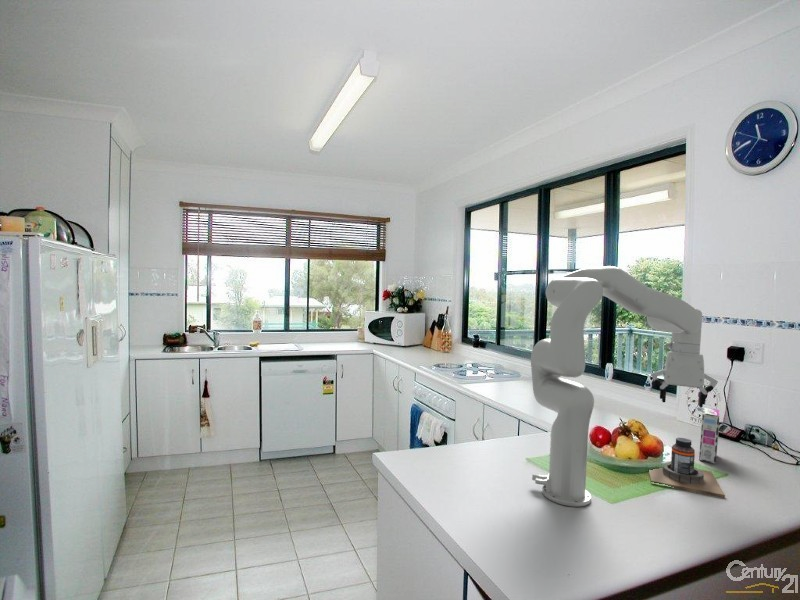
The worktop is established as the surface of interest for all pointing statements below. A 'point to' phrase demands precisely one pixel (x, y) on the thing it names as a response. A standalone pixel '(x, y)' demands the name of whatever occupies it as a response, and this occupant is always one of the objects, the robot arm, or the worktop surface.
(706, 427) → the candy bar box
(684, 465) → the supplement bottle
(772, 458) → the worktop surface
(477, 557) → the worktop surface
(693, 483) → the collar board
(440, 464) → the worktop surface
